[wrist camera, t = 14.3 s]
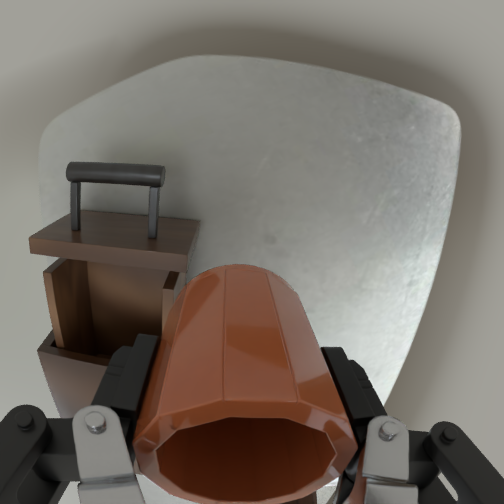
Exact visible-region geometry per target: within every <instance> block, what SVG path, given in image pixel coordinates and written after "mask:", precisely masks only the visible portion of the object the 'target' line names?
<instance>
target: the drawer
mask: <svg viewBox="0 0 504 504" xmlns="http://www.w3.org/2000/svg"><path fill="white" fill-rule="evenodd" d="M66 178H67V180H68V181H70V182H71V213H69V214H68V215H66V216H64V217H62V218H61V219H59V220H57V221H55V222H54V223H52V224H50V225H48V226H47V227H45V228H43V229H42V230H40V231H38V232H37V233H35V234H33V235H32V236H31V237H29V245H30V253H32V254H39V255H46V256H53V257H60V258H59V259H58V260H56V261H55V262H54V263H53V264H52V265H50V266H49V267H48V268H47V269H46V270H45V271H43V277H44V284H45V290H46V295H47V301H48V307H49V313H50V318H51V323H52V327H53V332H54V336H55V341H56V345H57V348H59V349H63V350H67V351H72V352H76V353H81V354H85V355H90V356H95V357H100V358H105V359H110V360H111V358H112V355H113V353H115V352H116V351H117V350H118V349H119V348H121V347H122V346H123V345H124V346H130V347H133V345H134V342H135V340H136V337H137V335H138V334H147V335H155V336H159V337H160V340H161V336H162V333H163V330H164V326H165V323H166V320H167V317H168V314H169V311H170V309H171V308H172V307H173V305H174V302H175V300H176V298H177V296H178V294H179V293H180V291H181V290H182V289H183V288H184V286H185V285H186V273H187V270H188V267H189V263H190V260H191V257H192V254H193V251H194V248H195V244H196V241H197V238H198V235H199V226H200V221H194V220H184V219H173V218H163V217H158V214H159V197H160V187H162V186H163V184H164V180H165V167H164V166H159V165H144V164H126V163H102V162H70V163H69V164H68V166H67V169H66ZM81 182H90V183H109V184H125V185H140V186H151V187H150V194H149V213H148V216H141V215H130V214H118V213H106V212H94V211H81V210H80V191H81Z"/></svg>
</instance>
